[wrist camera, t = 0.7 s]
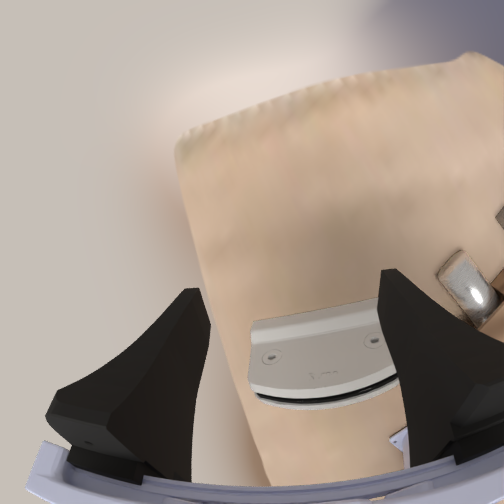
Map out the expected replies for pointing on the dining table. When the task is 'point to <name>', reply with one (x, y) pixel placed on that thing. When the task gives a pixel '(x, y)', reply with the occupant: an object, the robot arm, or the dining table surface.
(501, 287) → the beam
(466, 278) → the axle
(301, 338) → the hinge
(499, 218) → the v block
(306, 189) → the dining table surface
